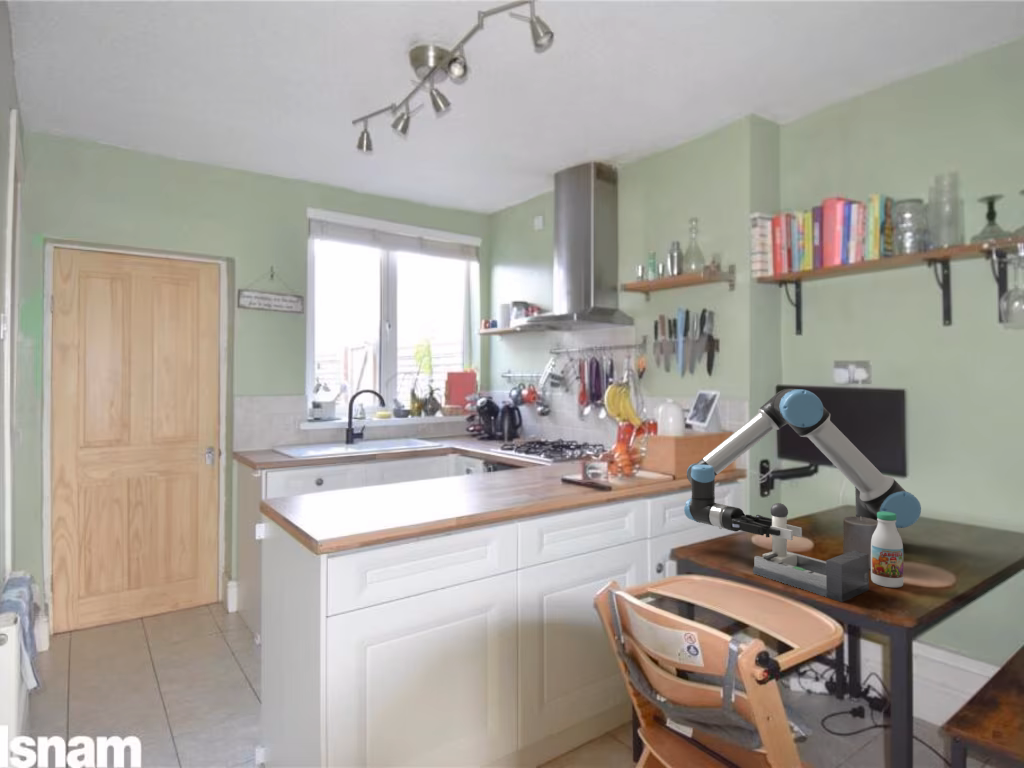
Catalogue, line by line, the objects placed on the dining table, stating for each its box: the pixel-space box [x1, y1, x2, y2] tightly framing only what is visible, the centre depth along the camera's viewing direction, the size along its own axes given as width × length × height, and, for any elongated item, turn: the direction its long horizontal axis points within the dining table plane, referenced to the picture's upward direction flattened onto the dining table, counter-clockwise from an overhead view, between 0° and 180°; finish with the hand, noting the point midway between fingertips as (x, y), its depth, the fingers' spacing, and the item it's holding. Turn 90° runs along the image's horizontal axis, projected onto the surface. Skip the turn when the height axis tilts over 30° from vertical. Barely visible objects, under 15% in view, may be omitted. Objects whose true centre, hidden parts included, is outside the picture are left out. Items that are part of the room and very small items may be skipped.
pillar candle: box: [842, 516, 878, 570], centre depth 179 cm, size 10×10×15 cm
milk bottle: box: [870, 511, 904, 589], centre depth 163 cm, size 8×8×20 cm
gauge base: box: [752, 550, 870, 603], centre depth 166 cm, size 26×14×10 cm, turn 33°
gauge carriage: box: [762, 502, 798, 566], centre depth 172 cm, size 6×11×19 cm, turn 123°
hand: (796, 533), depth 168 cm, fingers closed on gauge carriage, 4 cm apart
